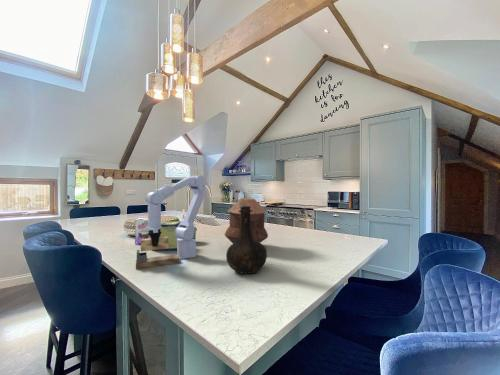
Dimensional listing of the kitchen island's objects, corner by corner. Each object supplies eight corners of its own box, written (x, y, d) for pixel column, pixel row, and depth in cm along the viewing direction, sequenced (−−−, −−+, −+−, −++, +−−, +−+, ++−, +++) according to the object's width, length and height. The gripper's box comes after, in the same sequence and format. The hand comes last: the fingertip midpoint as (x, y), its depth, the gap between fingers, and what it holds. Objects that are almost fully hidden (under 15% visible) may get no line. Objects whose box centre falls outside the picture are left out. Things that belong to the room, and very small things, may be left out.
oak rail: (167, 246, 116) (167, 236, 116) (168, 248, 113) (168, 238, 113) (140, 249, 111) (140, 239, 111) (140, 251, 108) (140, 240, 108)
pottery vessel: (230, 242, 153) (229, 197, 153) (269, 243, 150) (268, 196, 150) (219, 254, 128) (219, 199, 128) (266, 255, 124) (266, 199, 124)
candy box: (134, 244, 152) (134, 219, 152) (140, 242, 158) (139, 217, 158) (153, 244, 150) (153, 219, 150) (159, 242, 156) (158, 218, 156)
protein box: (178, 250, 135) (177, 224, 135) (151, 251, 136) (150, 224, 136) (183, 246, 146) (183, 221, 146) (158, 246, 146) (158, 221, 146)
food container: (192, 245, 148) (192, 229, 148) (183, 244, 149) (183, 229, 149) (200, 240, 160) (199, 226, 160) (191, 240, 162) (191, 226, 162)
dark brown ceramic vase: (259, 280, 91) (259, 208, 91) (218, 274, 97) (218, 207, 97) (271, 265, 108) (271, 205, 108) (236, 261, 114) (235, 204, 114)
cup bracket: (146, 258, 113) (146, 249, 113) (146, 261, 107) (146, 252, 107) (136, 259, 111) (136, 250, 111) (136, 263, 106) (136, 253, 106)
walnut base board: (177, 259, 120) (177, 254, 120) (179, 263, 113) (179, 257, 113) (135, 264, 111) (135, 259, 111) (135, 269, 105) (135, 263, 105)
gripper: (144, 216, 117) (145, 243, 117) (145, 219, 103) (146, 250, 103) (160, 215, 120) (160, 241, 120) (162, 218, 106) (163, 248, 106)
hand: (154, 245), depth 112 cm, fingers closed on oak rail, 3 cm apart
